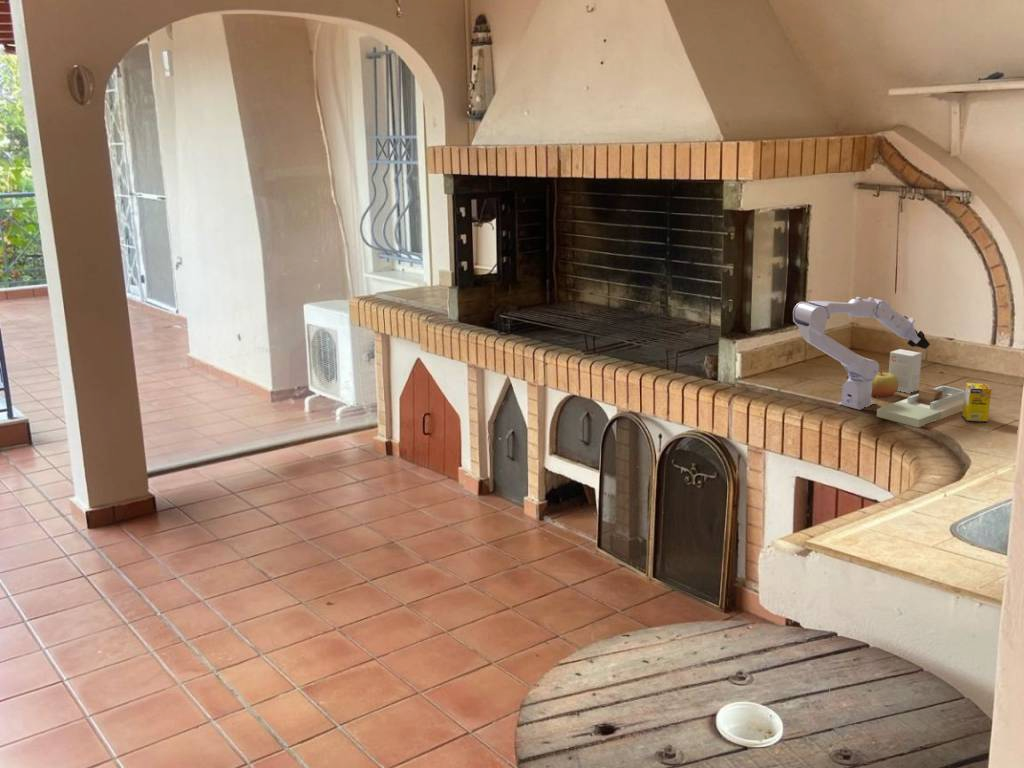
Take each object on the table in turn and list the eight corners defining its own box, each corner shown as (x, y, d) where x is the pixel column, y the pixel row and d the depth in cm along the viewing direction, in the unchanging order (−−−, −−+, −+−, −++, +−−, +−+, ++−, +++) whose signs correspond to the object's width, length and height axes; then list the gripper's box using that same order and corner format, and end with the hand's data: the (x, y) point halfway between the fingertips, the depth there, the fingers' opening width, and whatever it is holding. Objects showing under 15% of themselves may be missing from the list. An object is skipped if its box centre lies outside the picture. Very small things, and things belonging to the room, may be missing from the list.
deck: (918, 427, 288) (919, 413, 287) (876, 416, 299) (877, 402, 298) (974, 406, 306) (976, 392, 305) (933, 396, 317) (934, 383, 316)
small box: (918, 390, 324) (922, 352, 321) (909, 394, 321) (912, 356, 317) (896, 385, 331) (899, 348, 327) (886, 389, 327) (889, 351, 323)
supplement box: (987, 423, 290) (992, 388, 287) (966, 423, 291) (970, 388, 288) (982, 417, 295) (986, 383, 292) (961, 417, 297) (965, 382, 294)
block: (932, 406, 299) (934, 393, 298) (917, 402, 303) (919, 390, 302) (941, 403, 302) (942, 390, 301) (926, 399, 306) (927, 387, 305)
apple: (868, 389, 327) (870, 366, 324) (899, 393, 322) (901, 370, 319) (862, 397, 318) (864, 373, 316) (893, 401, 314) (896, 377, 311)
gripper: (915, 323, 300) (942, 342, 306) (892, 301, 312) (918, 320, 318) (899, 340, 303) (925, 358, 309) (877, 318, 315) (903, 336, 321)
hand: (921, 340), depth 314 cm, fingers open, 7 cm apart
